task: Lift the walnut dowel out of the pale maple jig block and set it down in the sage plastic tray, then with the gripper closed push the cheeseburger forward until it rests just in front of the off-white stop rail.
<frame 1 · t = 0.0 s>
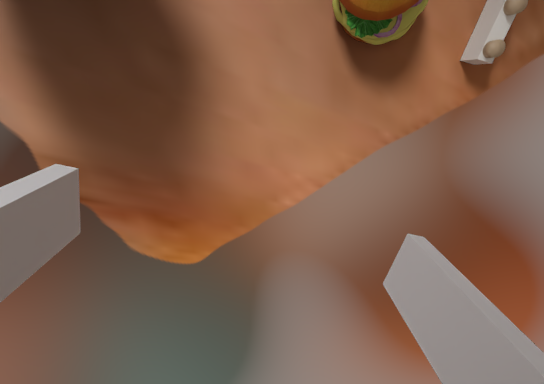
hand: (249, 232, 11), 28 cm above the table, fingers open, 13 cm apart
stop rail: (480, 32, 34), on the table
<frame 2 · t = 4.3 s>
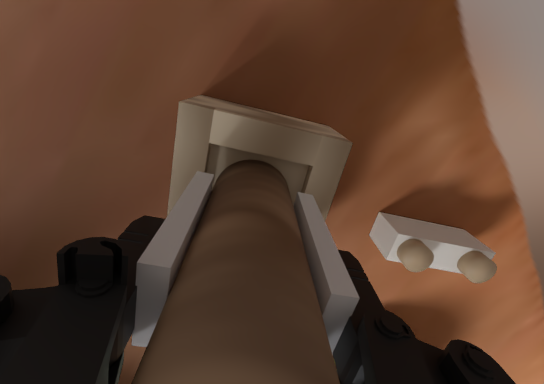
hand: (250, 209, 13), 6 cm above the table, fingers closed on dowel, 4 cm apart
dowel: (251, 195, 14), point 4 cm above the table, touching gripper, jig block
jig block: (253, 171, 18), on the table
stop rail: (416, 232, 21), on the table
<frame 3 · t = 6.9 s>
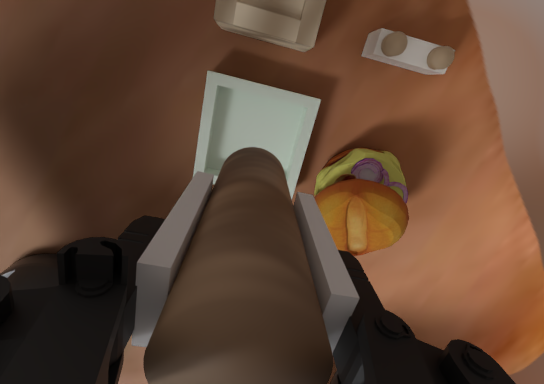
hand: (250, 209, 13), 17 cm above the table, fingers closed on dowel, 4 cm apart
tray: (254, 136, 29), on the table
dowel: (252, 178, 17), point 13 cm above the table, touching gripper
cheeseburger: (349, 188, 32), on the table
stop rail: (398, 54, 27), on the table
when the fingers open (4 cm above the table, at t = 9.4 s): dowel stays where it is, resting on tray.
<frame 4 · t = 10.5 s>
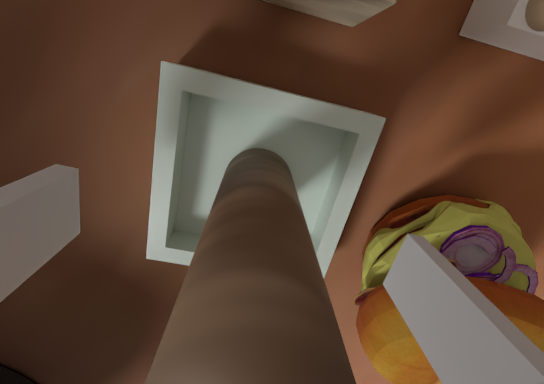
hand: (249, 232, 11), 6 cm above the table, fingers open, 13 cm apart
tray: (256, 178, 17), on the table
dowel: (258, 181, 16), point 1 cm above the table, touching tray
cheeseburger: (414, 254, 20), on the table
stop rail: (527, 32, 14), on the table
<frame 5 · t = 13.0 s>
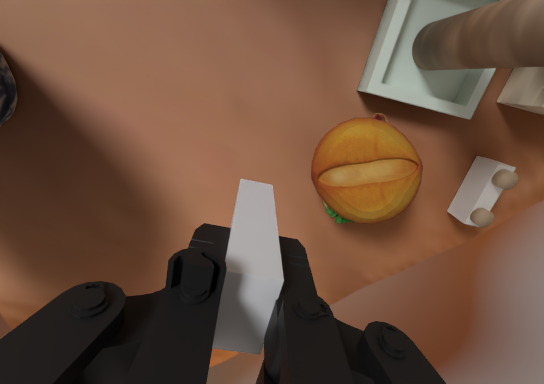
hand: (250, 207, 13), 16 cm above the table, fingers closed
tray: (429, 45, 25), on the table
dowel: (433, 46, 25), point 1 cm above the table, touching tray
cheeseburger: (351, 163, 30), on the table
stop rail: (468, 186, 31), on the table
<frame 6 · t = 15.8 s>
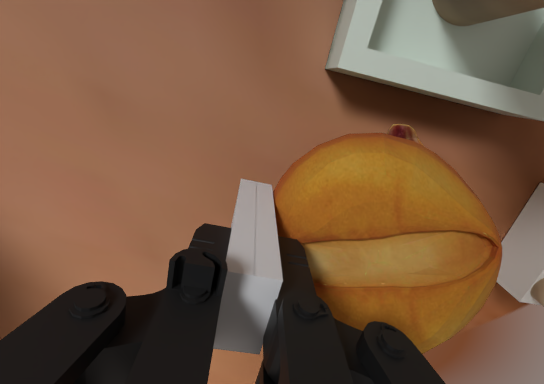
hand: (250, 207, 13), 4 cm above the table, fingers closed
cheeseburger: (346, 205, 17), on the table, touching gripper
stop rail: (522, 232, 19), on the table
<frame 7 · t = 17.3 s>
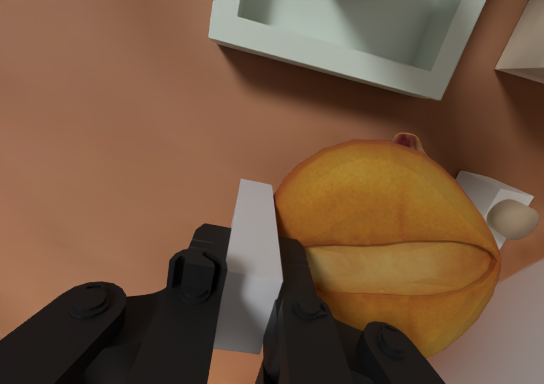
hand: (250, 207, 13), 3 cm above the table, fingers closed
cheeseburger: (344, 211, 18), on the table, touching gripper
stop rail: (447, 222, 18), on the table
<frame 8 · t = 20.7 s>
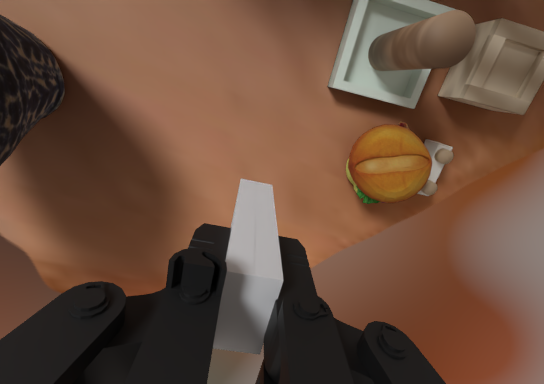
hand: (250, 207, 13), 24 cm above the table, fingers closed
tray: (382, 51, 33), on the table
jug: (25, 79, 33), on the table
dowel: (384, 52, 32), point 1 cm above the table, touching tray
jig block: (480, 70, 34), on the table
cheeseburger: (374, 159, 38), on the table
stop rail: (421, 164, 39), on the table
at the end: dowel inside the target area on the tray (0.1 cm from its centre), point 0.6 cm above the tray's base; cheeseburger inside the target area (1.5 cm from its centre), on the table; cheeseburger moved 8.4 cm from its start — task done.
